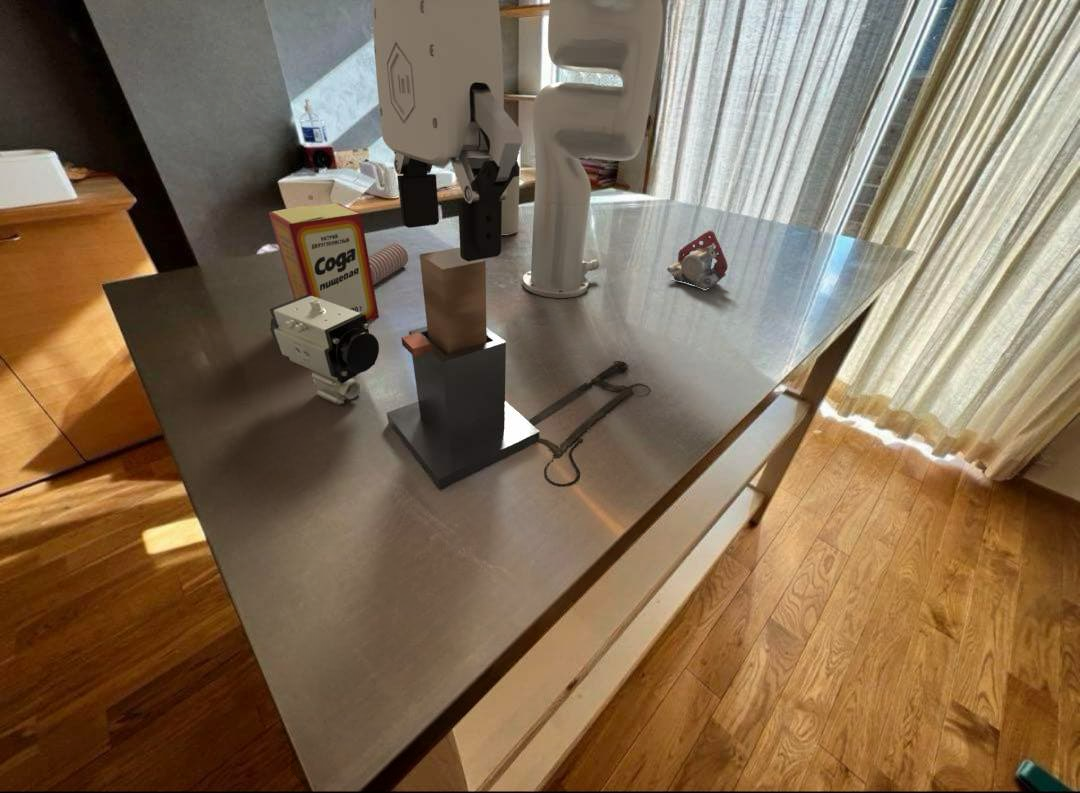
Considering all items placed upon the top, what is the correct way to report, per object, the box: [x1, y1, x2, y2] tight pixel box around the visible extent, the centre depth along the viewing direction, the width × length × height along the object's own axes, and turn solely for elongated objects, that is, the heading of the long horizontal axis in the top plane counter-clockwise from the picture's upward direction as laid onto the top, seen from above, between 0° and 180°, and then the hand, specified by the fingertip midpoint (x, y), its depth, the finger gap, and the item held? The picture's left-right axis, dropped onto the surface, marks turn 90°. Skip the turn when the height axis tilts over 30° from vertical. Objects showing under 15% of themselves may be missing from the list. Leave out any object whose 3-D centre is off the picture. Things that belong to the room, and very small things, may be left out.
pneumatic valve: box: [269, 294, 380, 406], centre depth 48 cm, size 6×12×12 cm, turn 62°
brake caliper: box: [666, 230, 728, 289], centre depth 86 cm, size 11×10×11 cm
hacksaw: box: [527, 360, 651, 488], centre depth 52 cm, size 24×10×2 cm, turn 137°
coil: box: [368, 242, 409, 286], centre depth 80 cm, size 5×5×18 cm
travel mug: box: [501, 152, 521, 234], centre depth 104 cm, size 8×8×18 cm
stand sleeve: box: [386, 326, 540, 491], centre depth 44 cm, size 12×12×13 cm
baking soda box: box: [268, 203, 380, 322], centre depth 63 cm, size 10×6×16 cm
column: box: [419, 247, 487, 356], centre depth 42 cm, size 4×4×18 cm
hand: (448, 240), depth 35 cm, fingers open, 9 cm apart
